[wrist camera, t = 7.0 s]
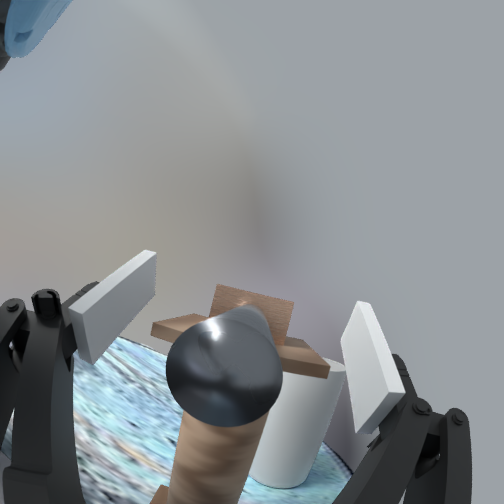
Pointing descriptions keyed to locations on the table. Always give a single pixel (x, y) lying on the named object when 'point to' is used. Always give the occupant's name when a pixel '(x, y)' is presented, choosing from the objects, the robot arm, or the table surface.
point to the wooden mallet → (230, 359)
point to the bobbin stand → (222, 433)
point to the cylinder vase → (296, 427)
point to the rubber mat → (3, 461)
